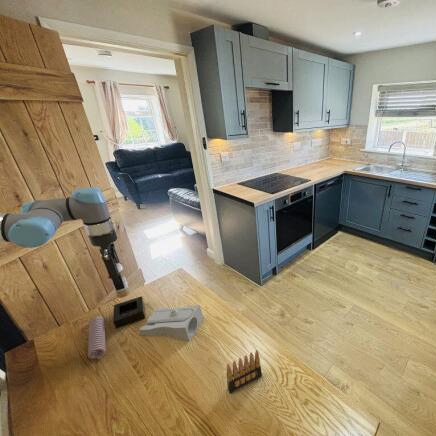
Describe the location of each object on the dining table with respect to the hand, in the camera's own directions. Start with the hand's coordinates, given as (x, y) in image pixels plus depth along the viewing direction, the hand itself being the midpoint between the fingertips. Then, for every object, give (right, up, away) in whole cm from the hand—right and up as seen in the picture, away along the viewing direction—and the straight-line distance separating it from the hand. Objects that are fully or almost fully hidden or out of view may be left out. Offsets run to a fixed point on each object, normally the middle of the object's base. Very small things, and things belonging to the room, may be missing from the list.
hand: (120, 285), depth 92 cm
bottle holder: (0, -14, +6) cm, 16 cm away
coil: (-5, -19, -5) cm, 20 cm away
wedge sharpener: (+19, -17, +2) cm, 26 cm away
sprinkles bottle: (0, -4, +2) cm, 5 cm away
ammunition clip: (+52, -26, -17) cm, 60 cm away
